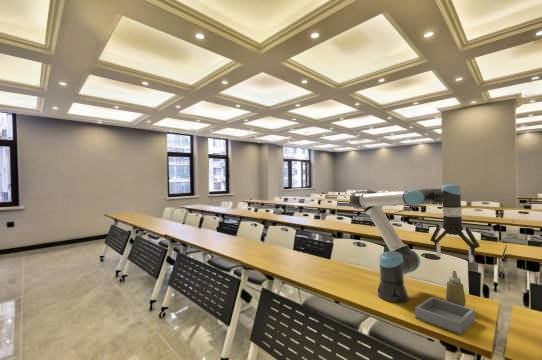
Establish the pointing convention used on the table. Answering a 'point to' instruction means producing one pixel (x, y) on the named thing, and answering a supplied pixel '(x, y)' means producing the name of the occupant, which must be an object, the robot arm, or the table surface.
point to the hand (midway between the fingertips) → (454, 258)
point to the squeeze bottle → (455, 290)
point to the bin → (445, 315)
